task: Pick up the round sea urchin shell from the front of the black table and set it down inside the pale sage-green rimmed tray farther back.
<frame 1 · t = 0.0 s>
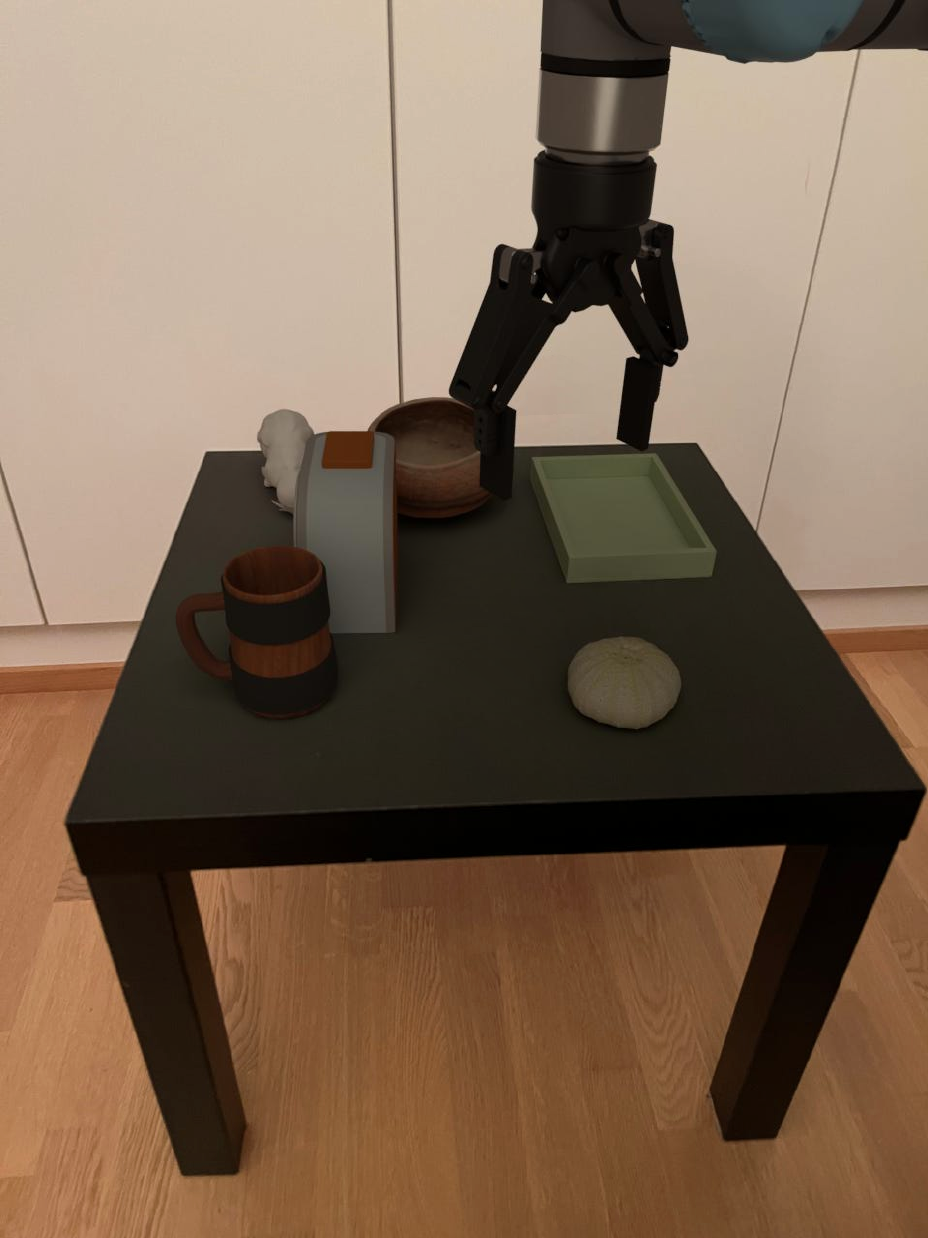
hand: (566, 467, 70), 19 cm above the table, tool pointing down, fingers open, 13 cm apart
sea urchin shell: (619, 702, 78), on the table
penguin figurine: (293, 498, 105), on the table
tray: (613, 525, 102), on the table
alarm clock: (353, 588, 91), on the table
mug: (266, 693, 78), on the table
bowl: (433, 504, 105), on the table
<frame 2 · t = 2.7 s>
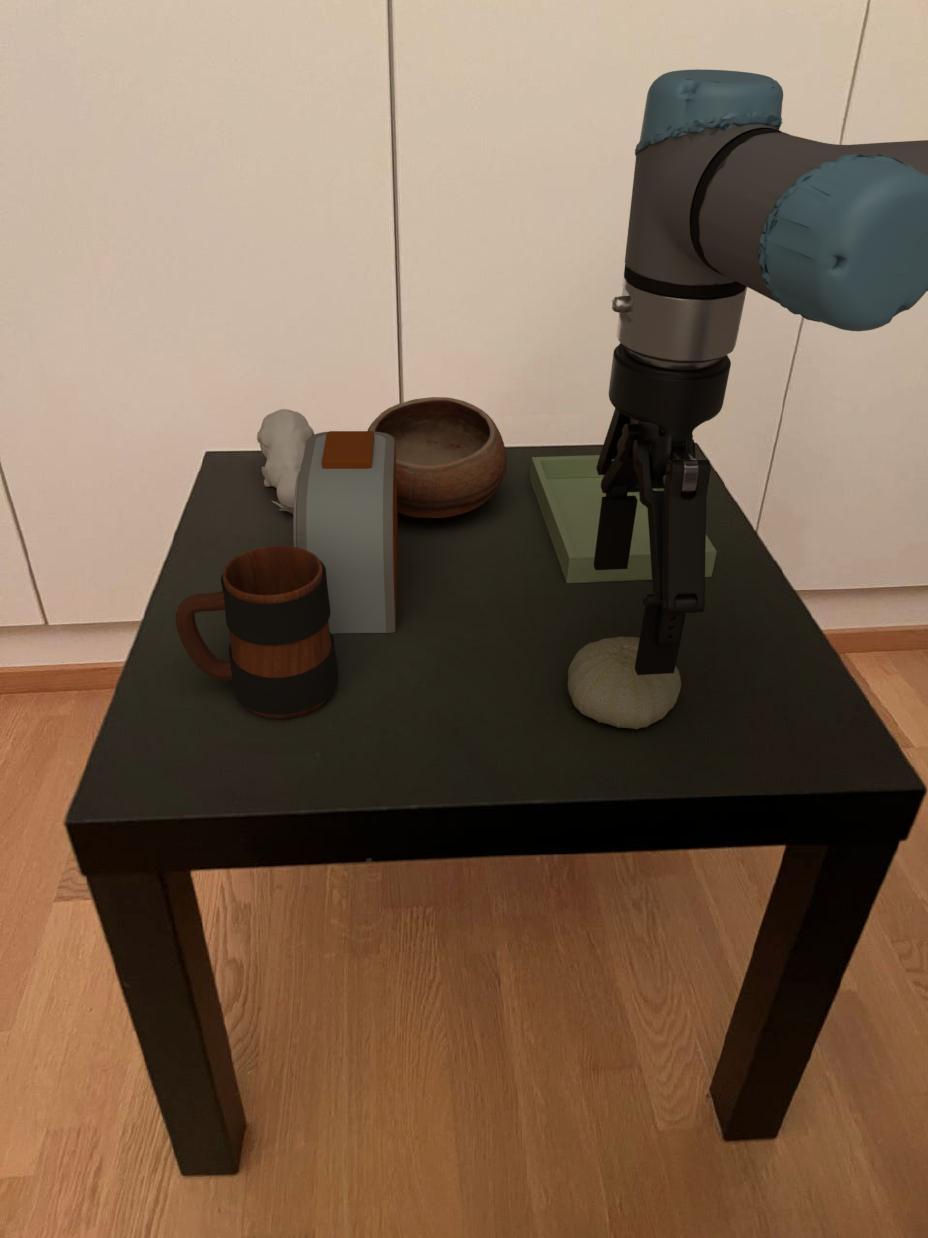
hand: (630, 615, 73), 8 cm above the table, tool pointing down, fingers open, 13 cm apart
nothing on the table moved.
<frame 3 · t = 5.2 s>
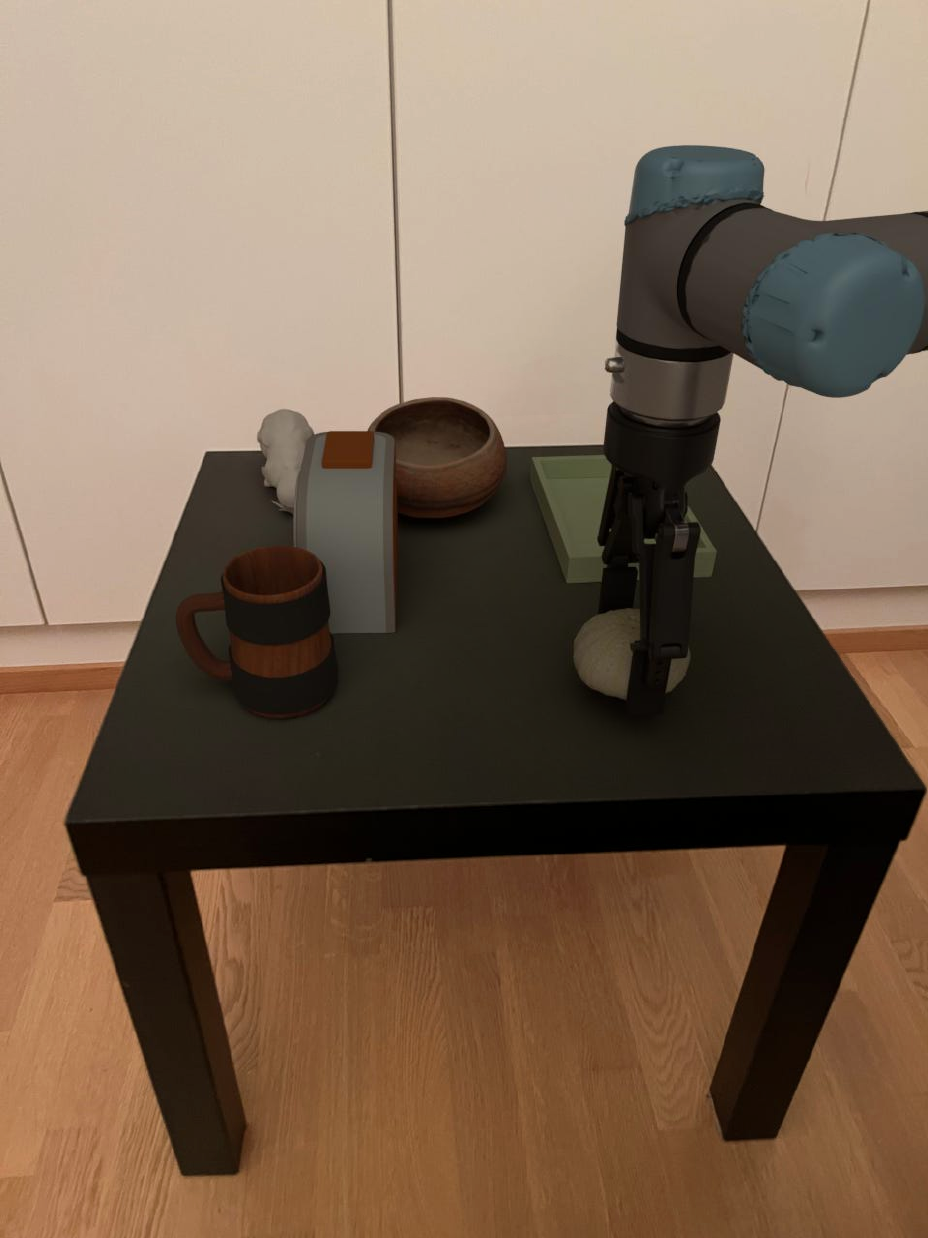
hand: (627, 671, 76), 3 cm above the table, tool pointing down, fingers closed on sea urchin shell, 9 cm apart
sea urchin shell: (626, 675, 76), point 3 cm above the table, touching gripper
everything else where it was.
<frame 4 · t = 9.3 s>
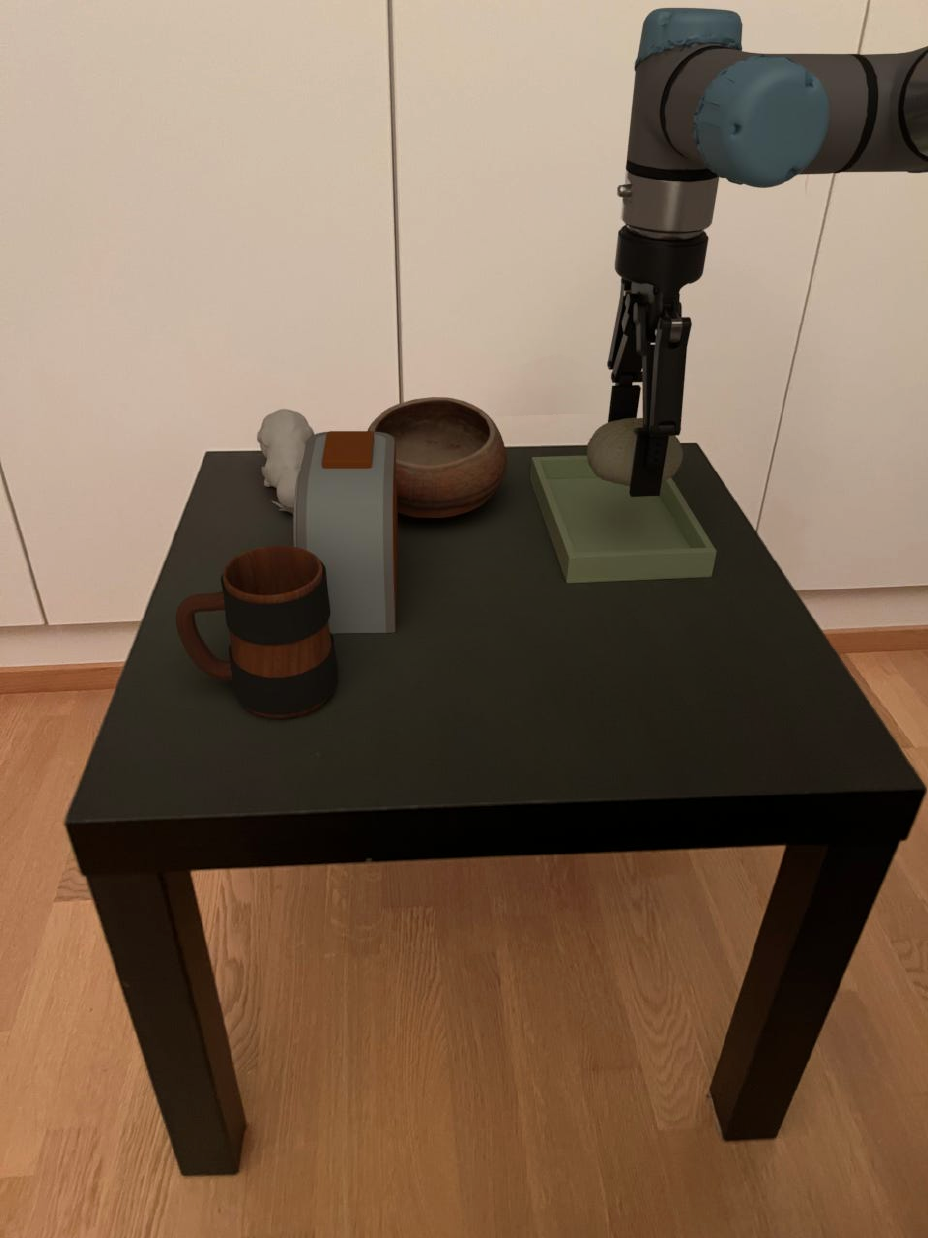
hand: (630, 469, 92), 9 cm above the table, tool pointing down, fingers closed on sea urchin shell, 9 cm apart
sea urchin shell: (630, 473, 93), point 9 cm above the table, touching gripper
everything else where it was.
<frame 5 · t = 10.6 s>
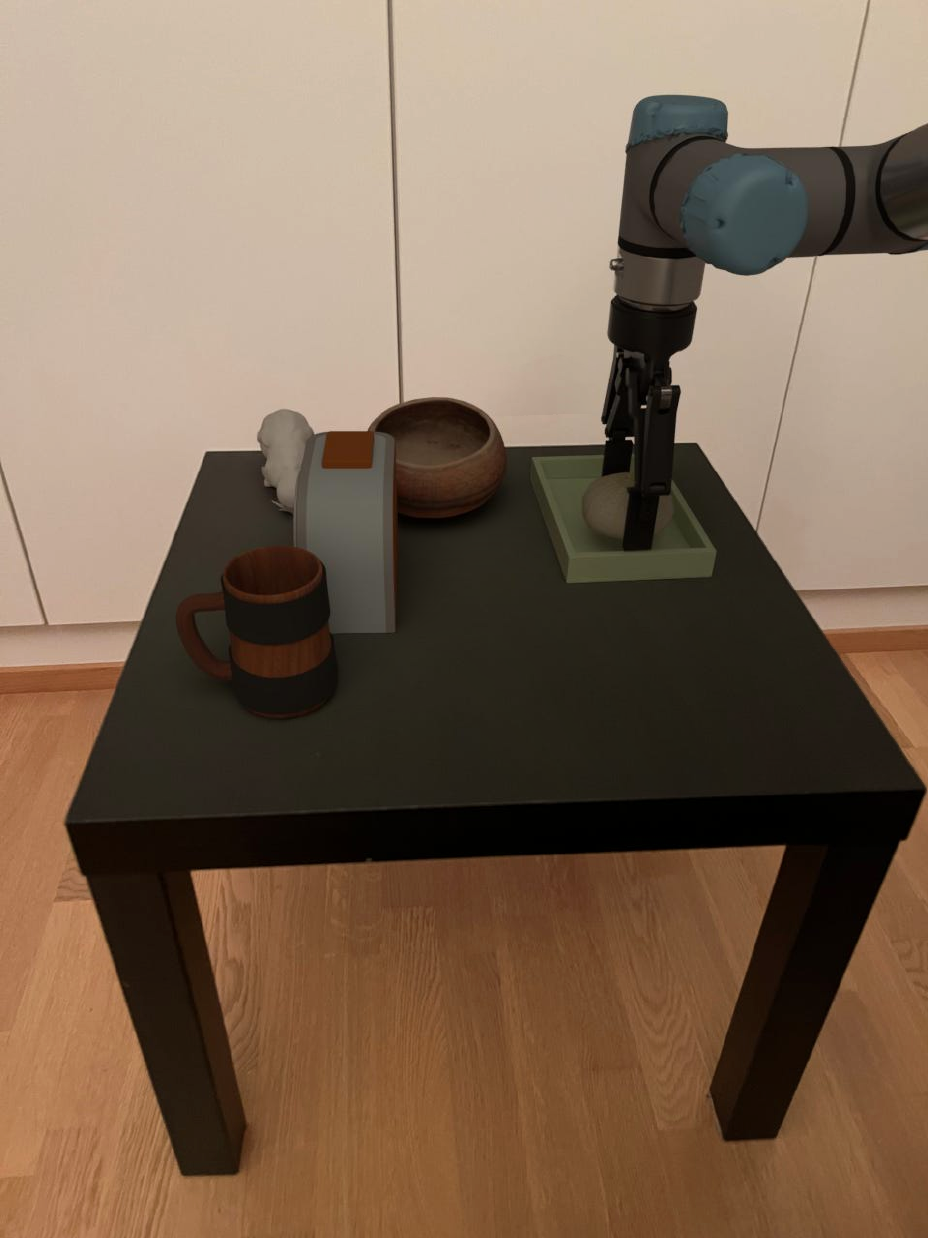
hand: (624, 522, 96), 3 cm above the table, tool pointing down, fingers closed on sea urchin shell, 9 cm apart
sea urchin shell: (623, 525, 96), point 3 cm above the table, touching gripper
everything else where it was.
when the fingers open (3 cm above the table, at t = 13.3 s): sea urchin shell drops 3 cm, resting on tray.
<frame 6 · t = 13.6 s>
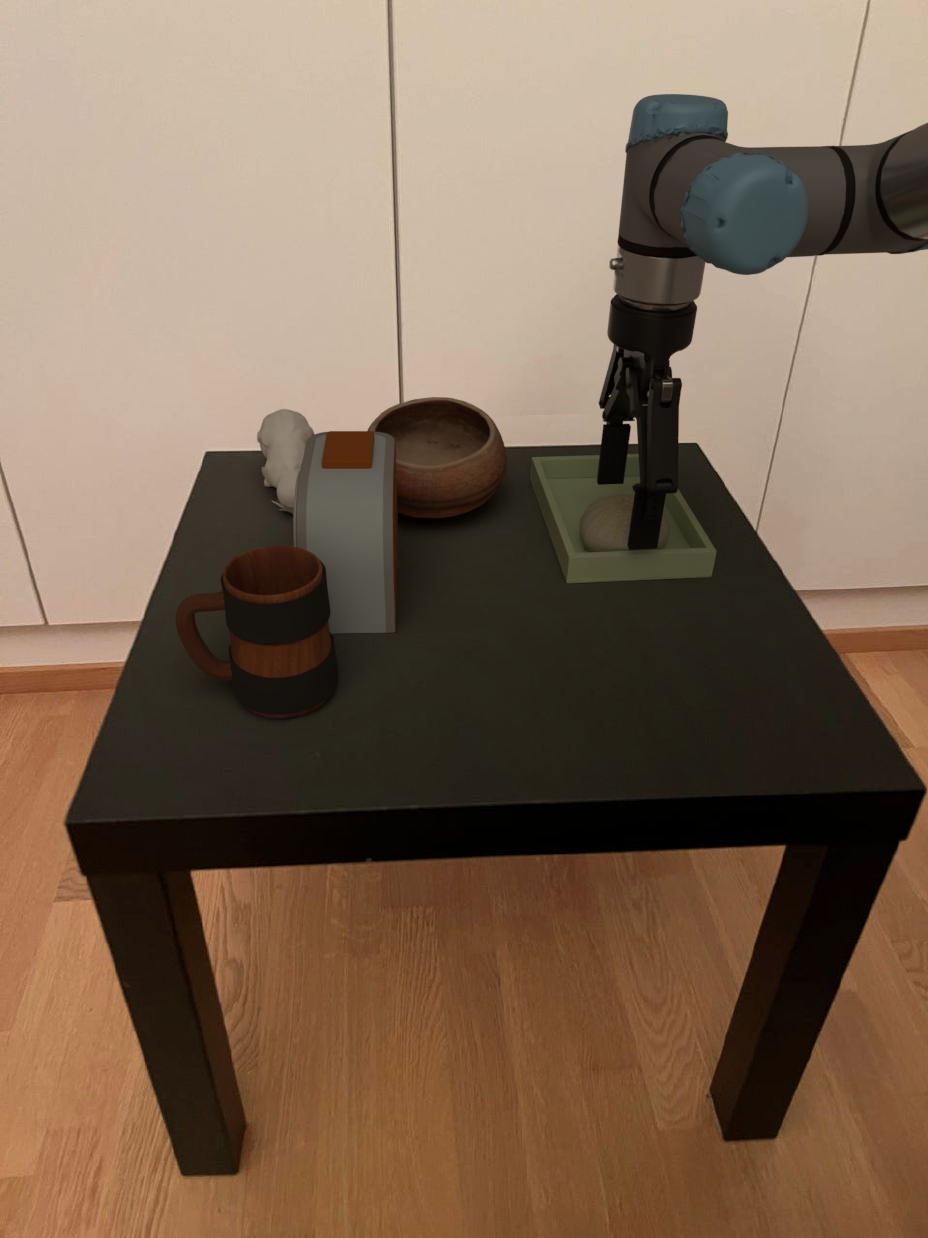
hand: (625, 513, 95), 4 cm above the table, tool pointing down, fingers open, 12 cm apart
sea urchin shell: (620, 547, 97), resting on tray
everything else where it was.
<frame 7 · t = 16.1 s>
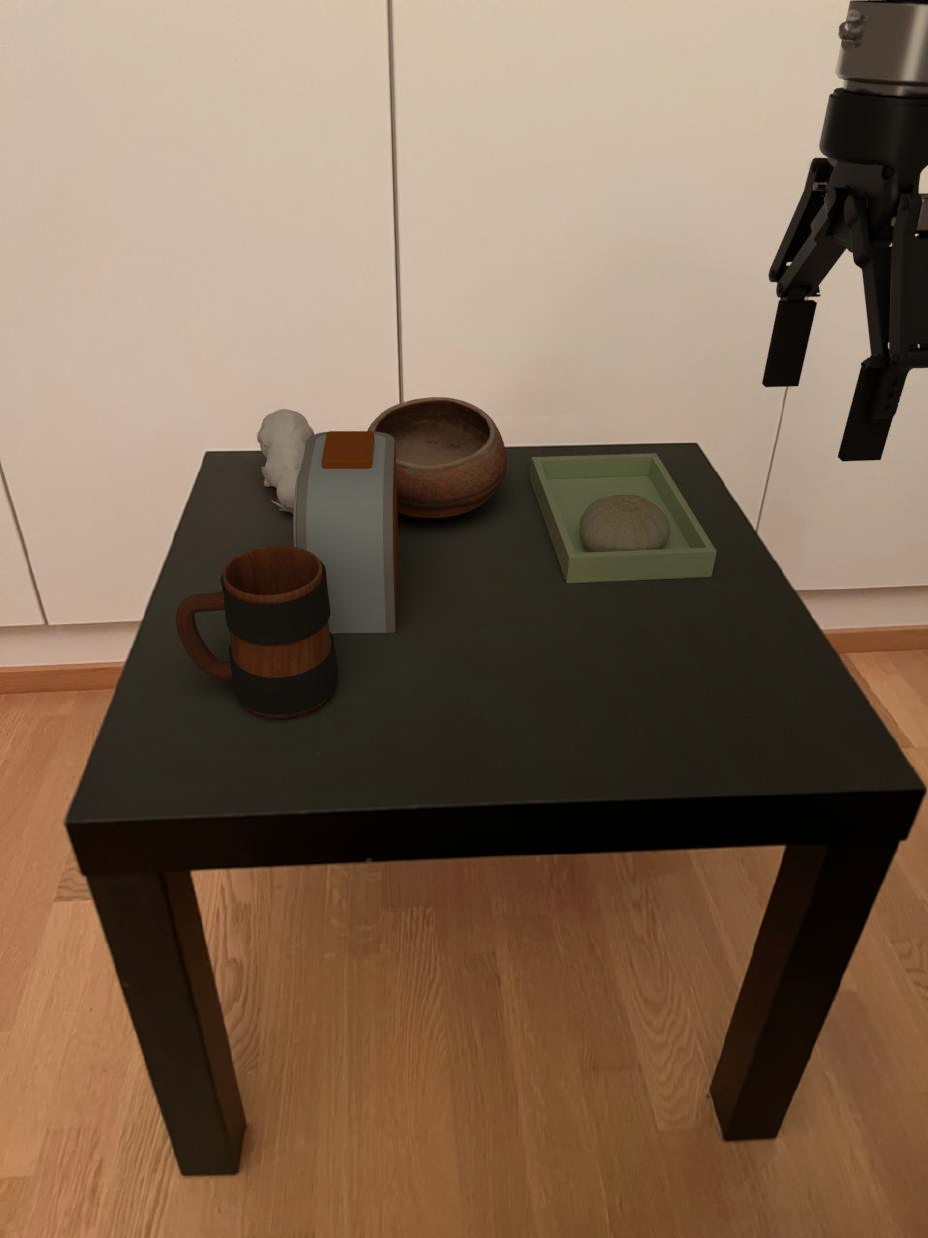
hand: (816, 419, 69), 23 cm above the table, tool pointing down, fingers open, 13 cm apart
nothing on the table moved.
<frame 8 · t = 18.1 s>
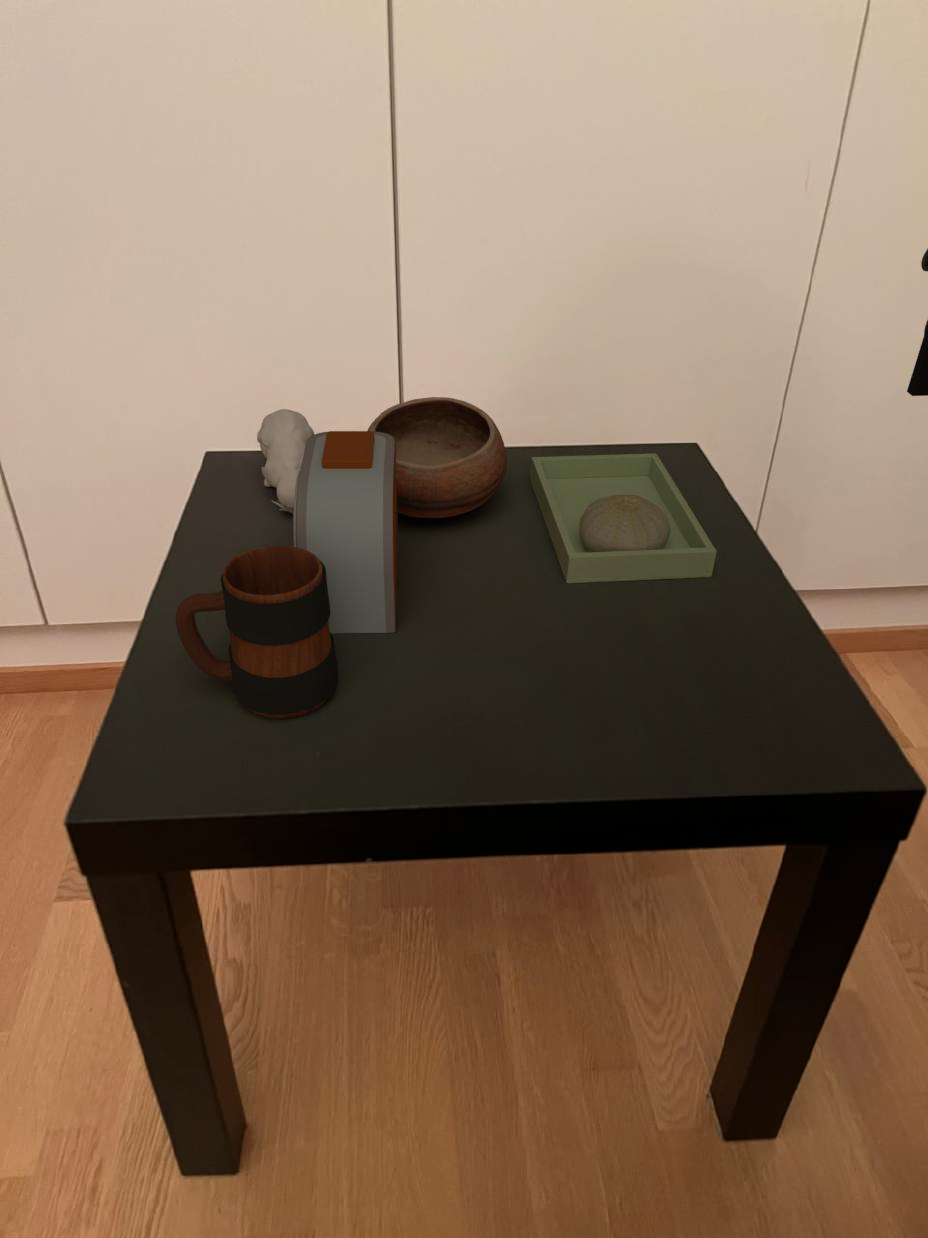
nothing on the table moved.
at the end: sea urchin shell inside the target area on the tray (5.1 cm from its centre), point 0.3 cm above the tray's base; the gripper is holding nothing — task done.
